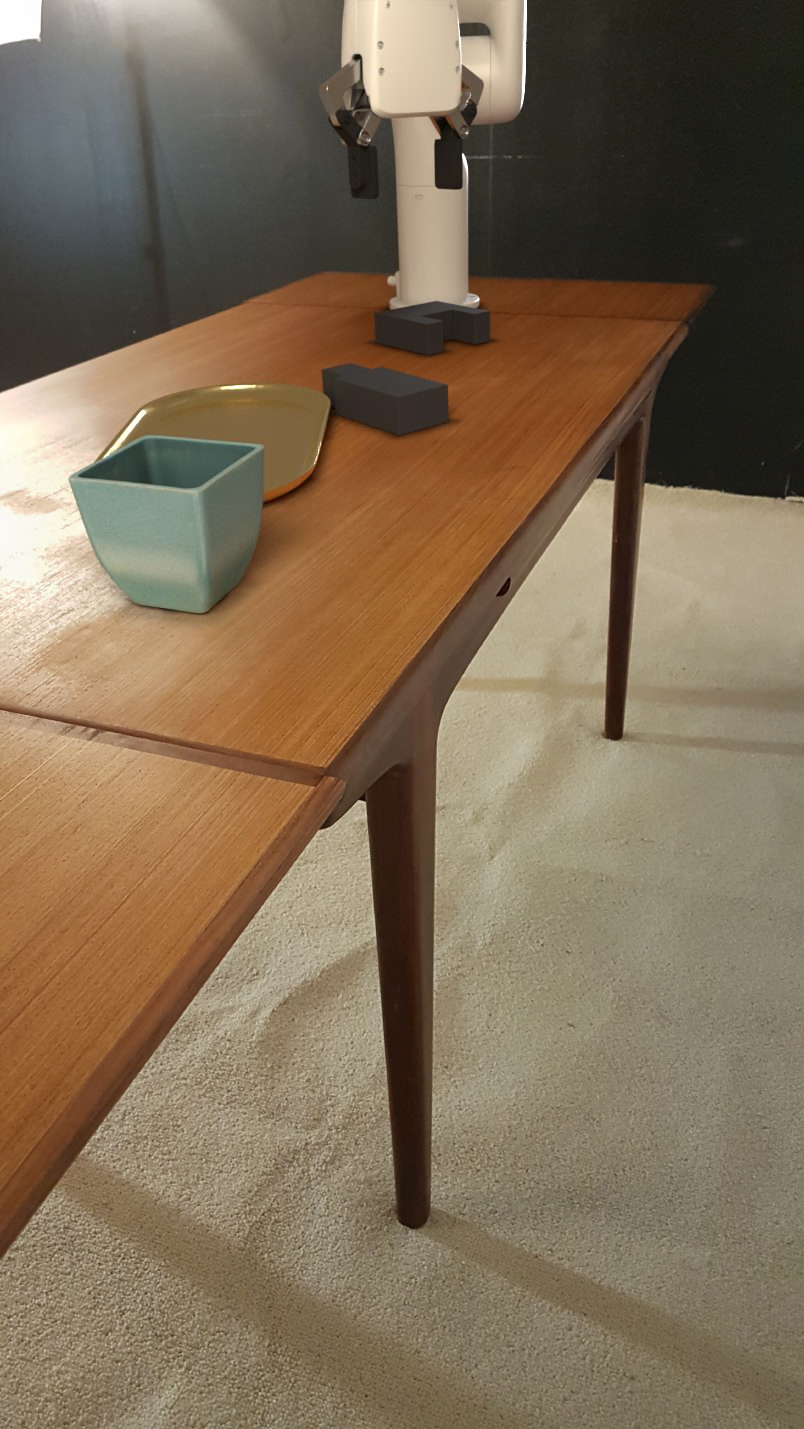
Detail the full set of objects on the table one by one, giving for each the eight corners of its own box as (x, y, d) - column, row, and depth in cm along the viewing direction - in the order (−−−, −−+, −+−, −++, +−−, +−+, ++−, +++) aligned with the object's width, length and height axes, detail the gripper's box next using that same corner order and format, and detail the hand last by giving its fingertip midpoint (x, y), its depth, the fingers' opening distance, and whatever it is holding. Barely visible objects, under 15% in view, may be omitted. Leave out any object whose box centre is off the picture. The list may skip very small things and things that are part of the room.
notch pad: (375, 342, 126) (373, 312, 125) (436, 329, 132) (436, 300, 130) (427, 355, 120) (426, 324, 118) (490, 341, 125) (490, 310, 123)
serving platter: (60, 527, 77) (55, 507, 76) (159, 401, 107) (157, 385, 106) (308, 519, 77) (306, 499, 76) (338, 395, 106) (337, 379, 105)
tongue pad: (314, 407, 103) (311, 371, 101) (361, 395, 106) (359, 360, 104) (399, 435, 94) (397, 397, 92) (448, 422, 97) (448, 384, 95)
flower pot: (281, 574, 68) (267, 441, 63) (219, 634, 61) (198, 490, 56) (166, 561, 71) (144, 432, 66) (94, 617, 64) (63, 477, 59)
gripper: (450, -36, 90) (452, 184, 98) (285, -43, 80) (304, 200, 89) (510, -46, 85) (507, 187, 93) (342, -55, 75) (356, 204, 84)
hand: (408, 193), depth 91 cm, fingers open, 9 cm apart
